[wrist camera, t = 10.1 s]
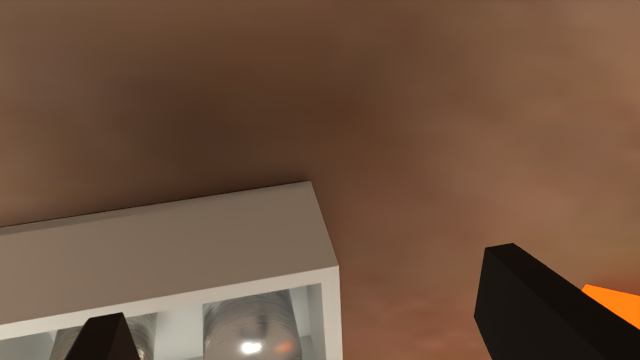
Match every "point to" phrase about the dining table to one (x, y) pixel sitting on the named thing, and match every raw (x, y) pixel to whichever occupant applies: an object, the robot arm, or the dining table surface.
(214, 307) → the bushing
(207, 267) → the tub
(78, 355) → the robot arm
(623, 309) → the orange juice
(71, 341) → the bushing
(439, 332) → the dining table surface
